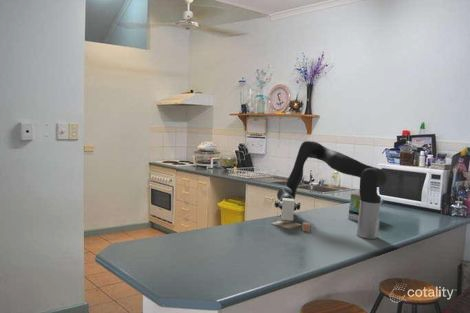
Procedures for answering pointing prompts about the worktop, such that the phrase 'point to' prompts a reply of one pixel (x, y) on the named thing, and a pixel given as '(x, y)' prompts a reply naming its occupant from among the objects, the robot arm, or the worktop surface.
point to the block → (306, 226)
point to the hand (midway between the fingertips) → (288, 208)
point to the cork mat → (286, 224)
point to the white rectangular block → (287, 209)
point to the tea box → (354, 206)
